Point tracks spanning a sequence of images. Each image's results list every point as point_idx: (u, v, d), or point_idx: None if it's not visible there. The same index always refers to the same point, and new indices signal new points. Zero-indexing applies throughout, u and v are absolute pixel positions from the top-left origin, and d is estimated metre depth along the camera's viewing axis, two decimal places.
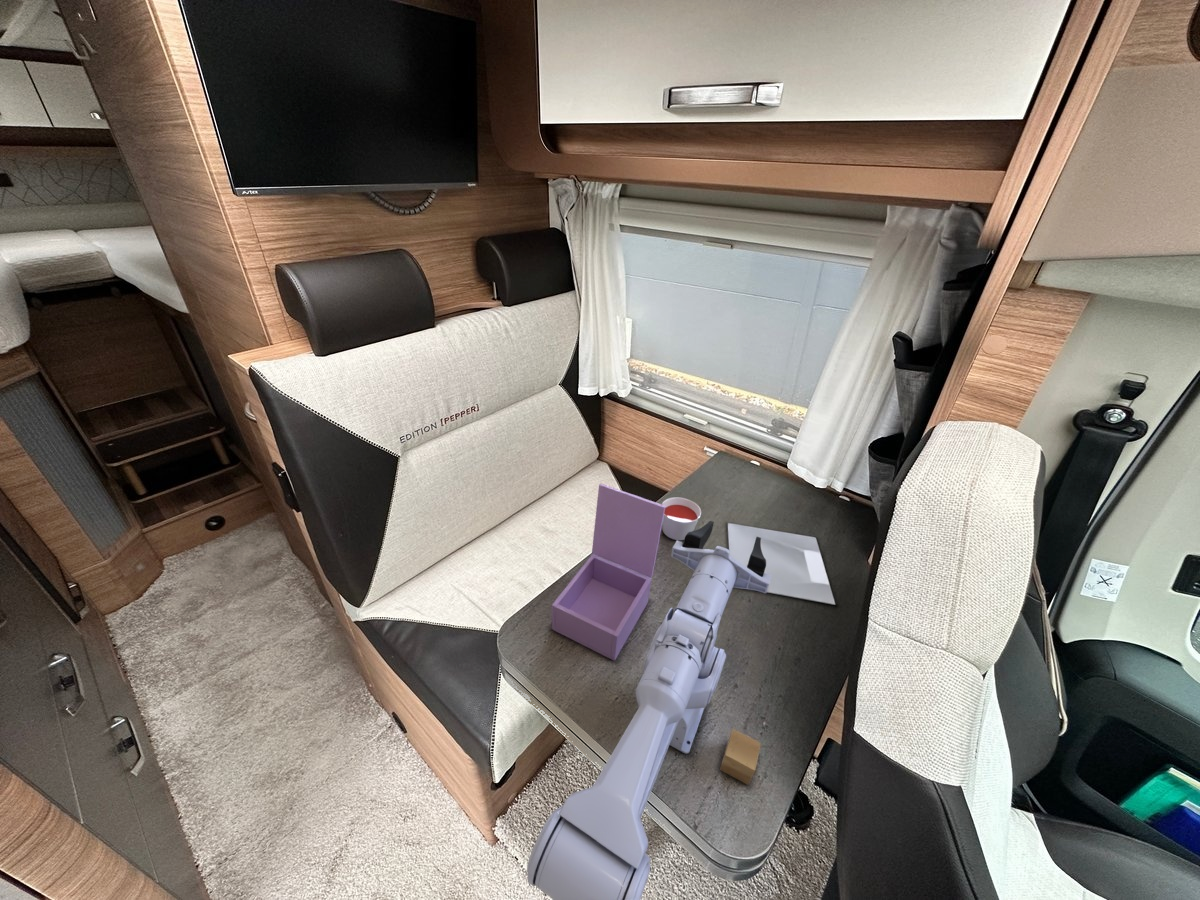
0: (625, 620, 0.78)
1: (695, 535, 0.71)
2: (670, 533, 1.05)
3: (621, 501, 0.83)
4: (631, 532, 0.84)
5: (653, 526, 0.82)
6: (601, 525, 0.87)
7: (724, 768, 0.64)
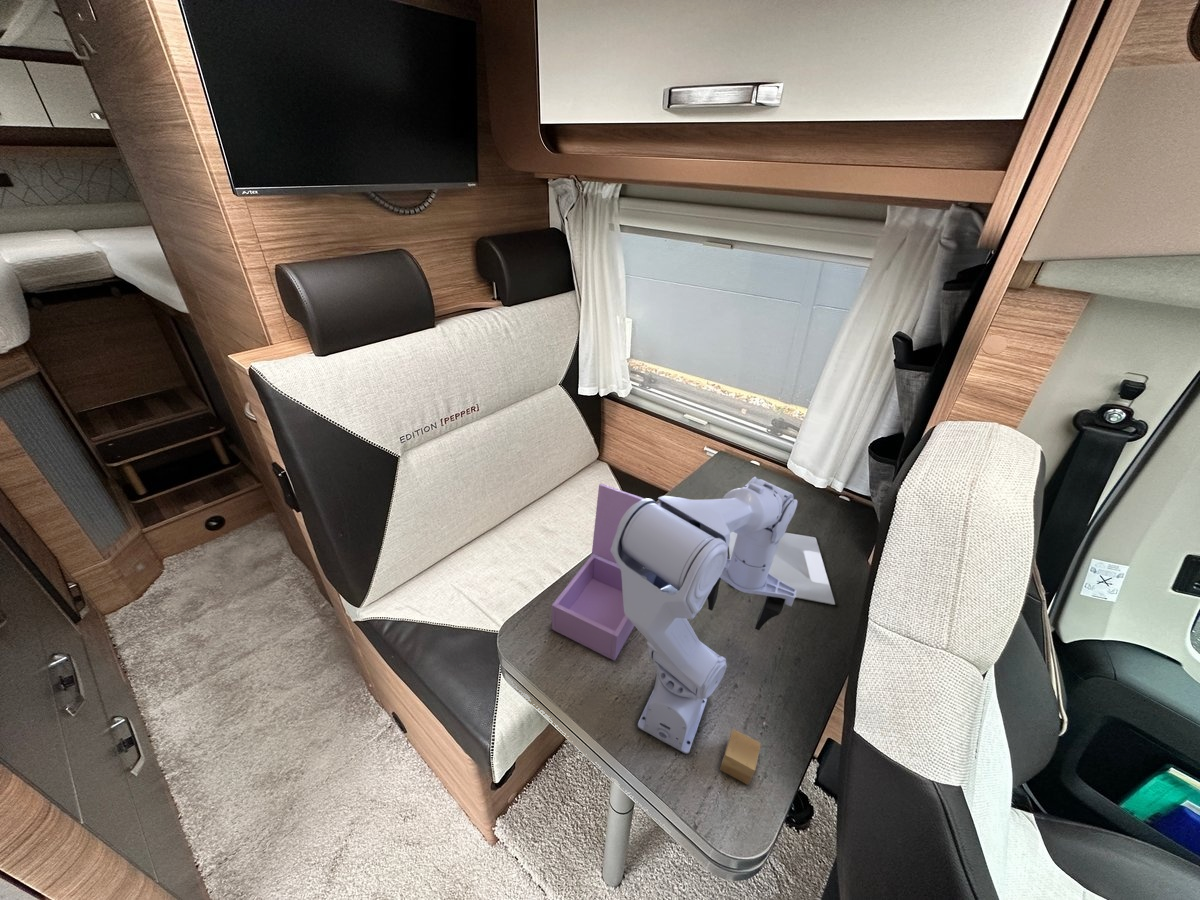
0: (625, 620, 0.78)
1: None
2: None
3: (621, 501, 0.83)
4: None
5: None
6: (601, 525, 0.87)
7: (724, 768, 0.64)
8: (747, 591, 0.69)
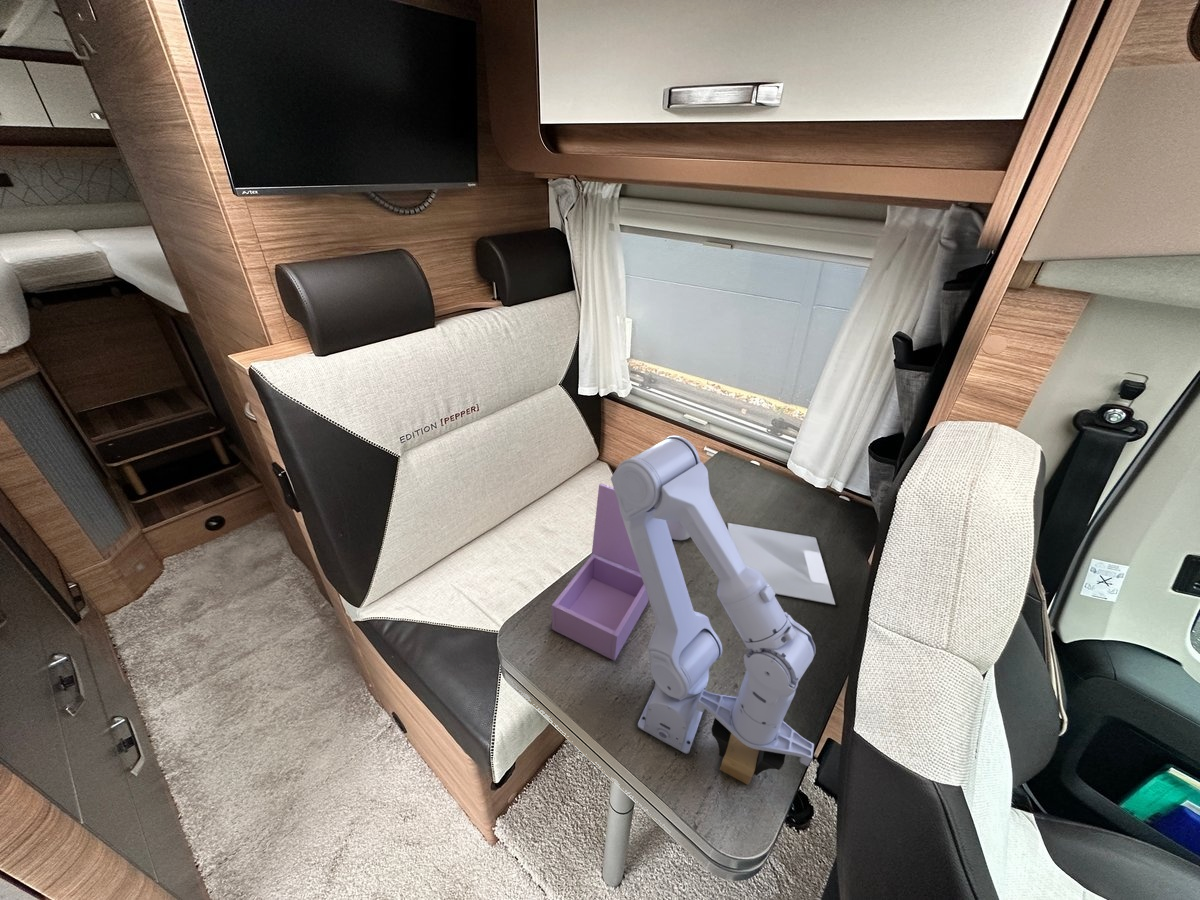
0: (625, 620, 0.78)
1: None
2: (670, 533, 1.05)
3: None
4: None
5: None
6: (601, 525, 0.87)
7: (724, 768, 0.64)
8: (755, 747, 0.58)
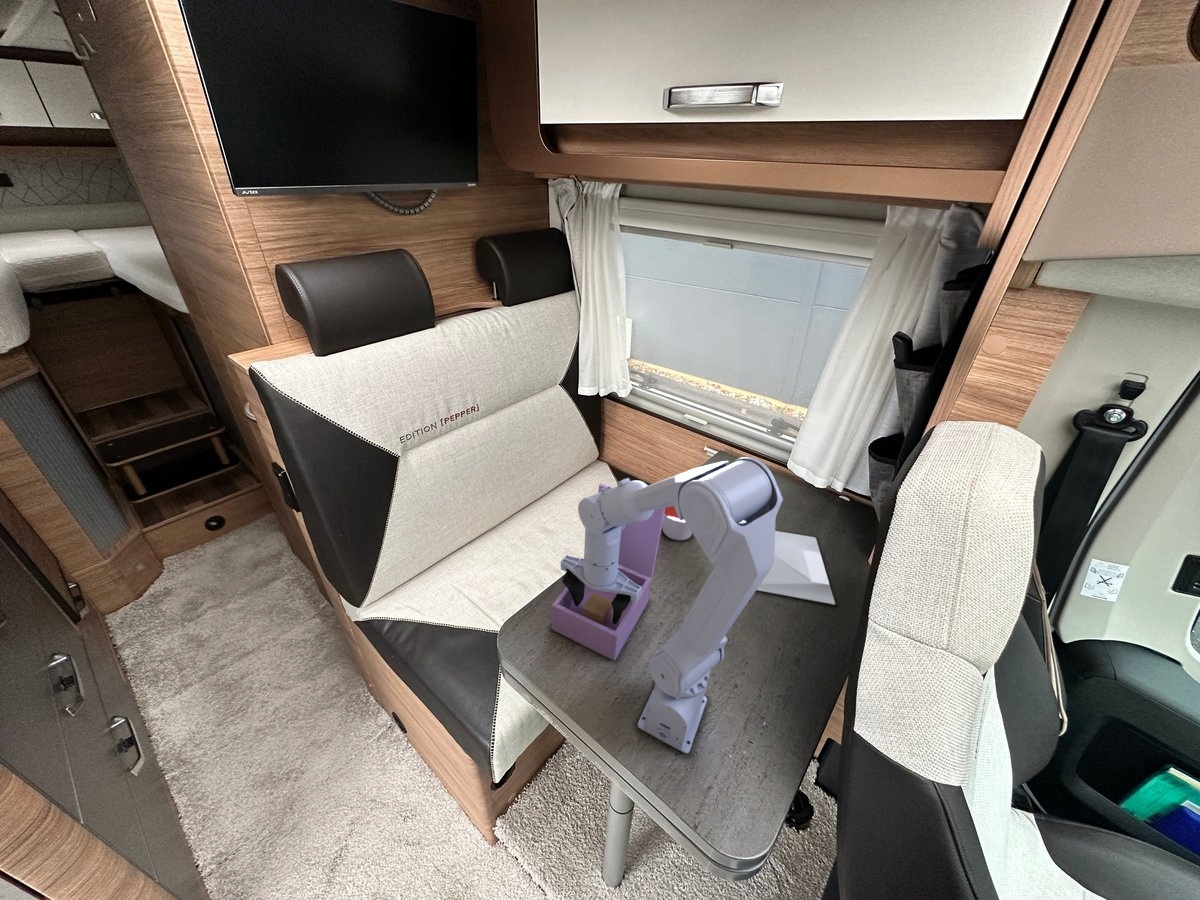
0: (625, 620, 0.78)
1: None
2: (670, 533, 1.05)
3: None
4: (631, 532, 0.84)
5: (653, 526, 0.82)
6: None
7: None
8: (596, 588, 0.76)
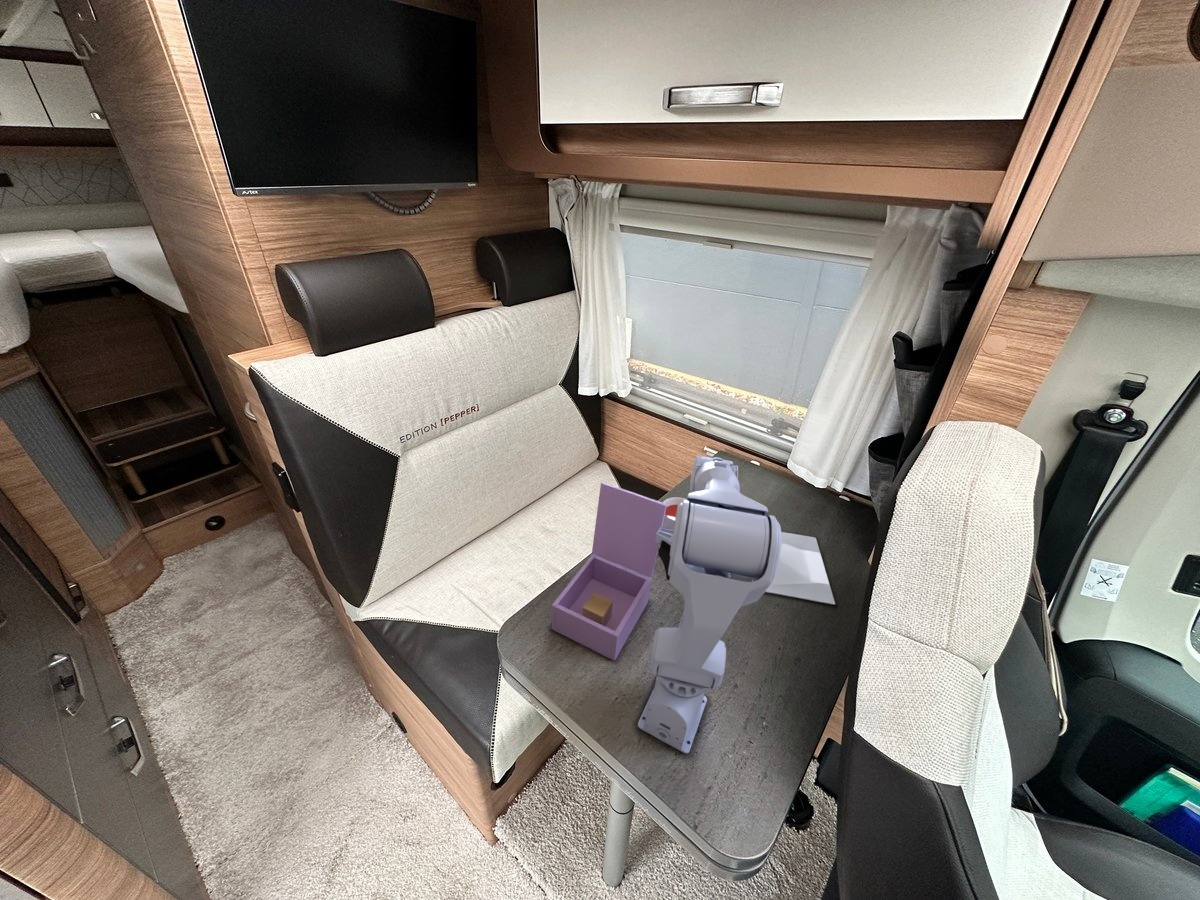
0: (625, 620, 0.78)
1: None
2: None
3: (623, 499, 0.83)
4: (632, 531, 0.85)
5: (654, 525, 0.82)
6: (602, 524, 0.87)
7: None
8: None
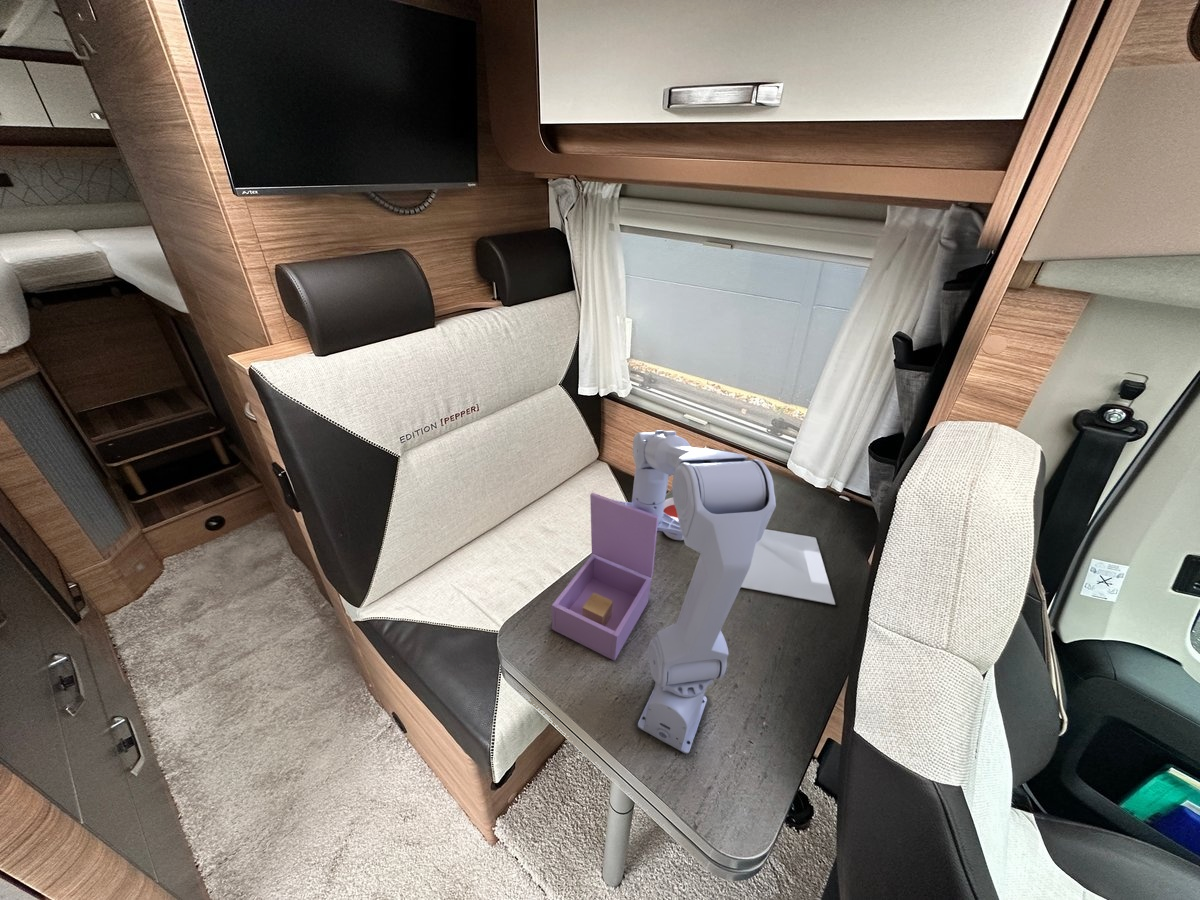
0: (625, 620, 0.78)
1: None
2: None
3: (614, 510, 0.81)
4: (627, 538, 0.83)
5: (648, 534, 0.80)
6: (597, 530, 0.86)
7: None
8: None
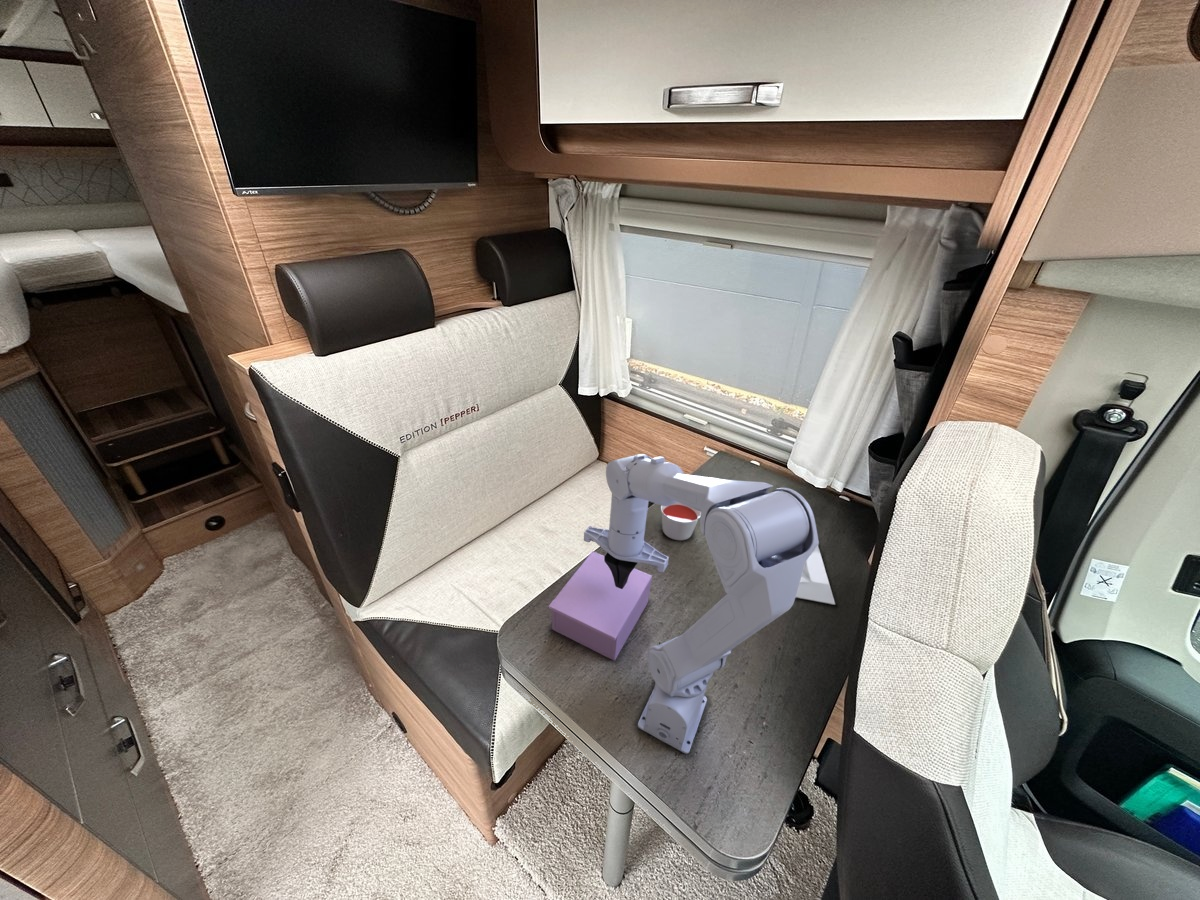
0: None
1: None
2: (670, 533, 1.05)
3: None
4: None
5: None
6: None
7: None
8: (622, 558, 0.74)
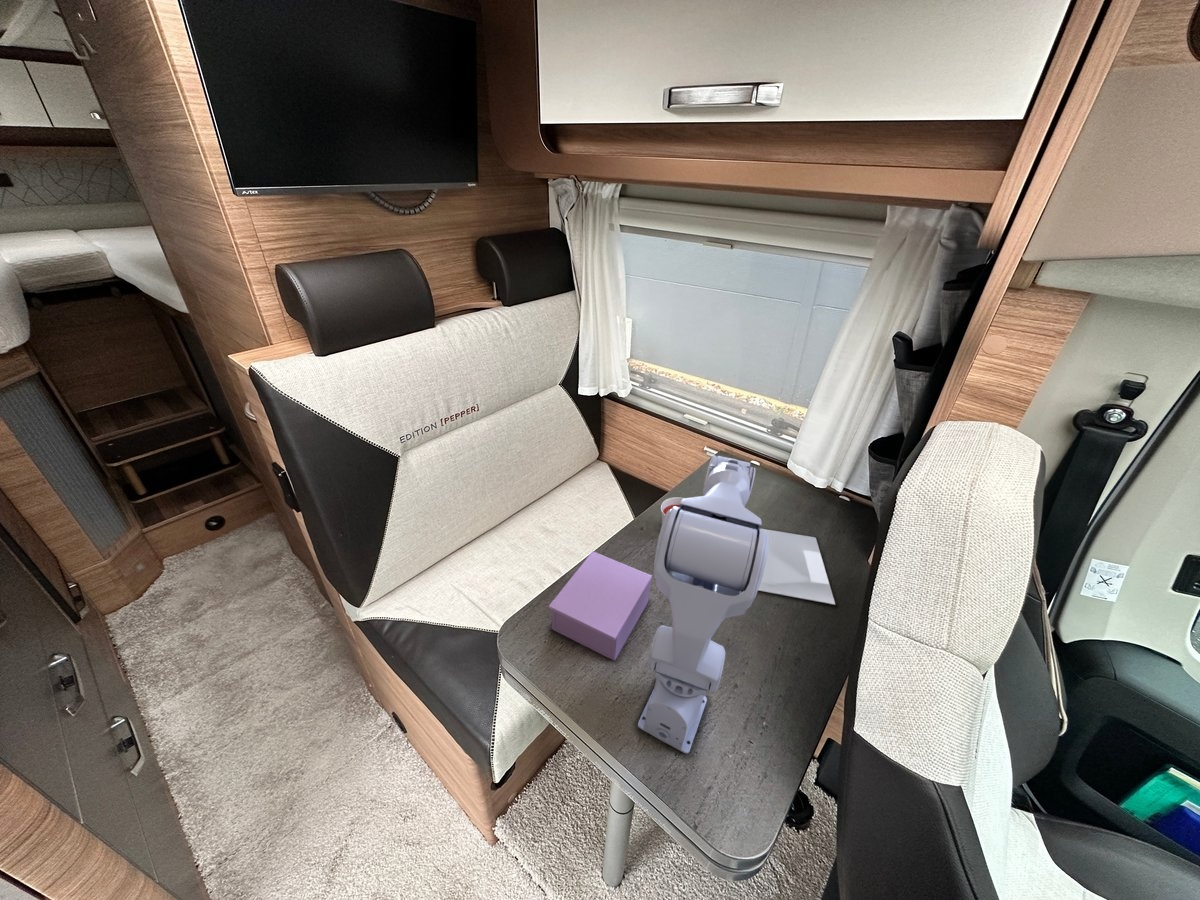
0: None
1: None
2: None
3: None
4: None
5: None
6: None
7: None
8: None
